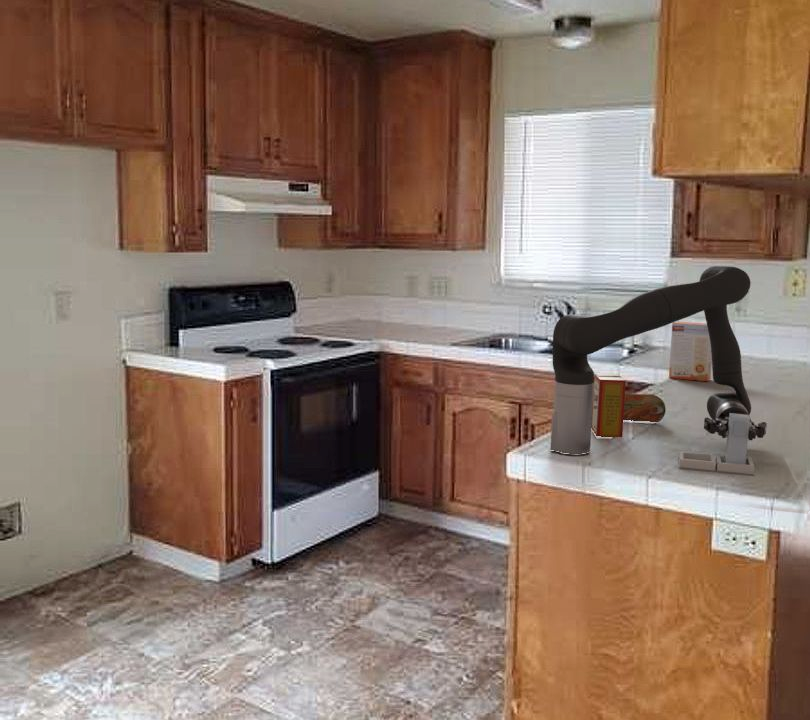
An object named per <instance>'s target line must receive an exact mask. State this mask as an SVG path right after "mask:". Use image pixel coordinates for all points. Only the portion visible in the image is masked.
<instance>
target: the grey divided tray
mask: <svg viewBox="0 0 810 720" xmlns="http://www.w3.org/2000/svg"><path fill="white" fill-rule="evenodd" d="M677 457H678V458H677V461H678V462H677V463H678V465H677V467H678V470H682V471H683V470H685V471H695V472H703V473H704V472H706V473H712V474H713V473H714V474H715V473H716V474H724V475H725V474H726V475H737V476H743V477H744V476H745V477H756V475H755V472H754V471H755V463H754V461H753V459H752V457H747V456H746V461H745V464H734V463H724V461H725V454H712V453H702V452H692V451H679V456H677Z"/></svg>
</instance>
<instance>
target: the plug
mask: <svg viewBox="0 0 810 720" xmlns="http://www.w3.org/2000/svg"><path fill="white" fill-rule="evenodd" d="M749 416H750V415H745V414H735V413H729V423H728V432H727V437H726V443H725V454H724V455H725V461H724V463H734V464H745V461H746V457H747V451H748V443H749V442H748V441H749V439H748V434H749V424H750V419H751V416H750V417H749Z"/></svg>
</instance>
